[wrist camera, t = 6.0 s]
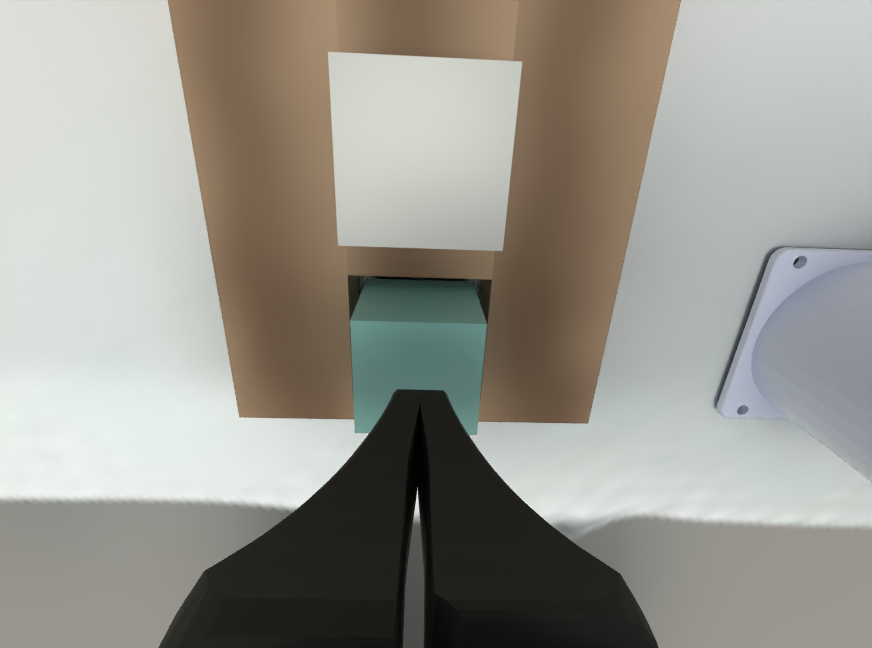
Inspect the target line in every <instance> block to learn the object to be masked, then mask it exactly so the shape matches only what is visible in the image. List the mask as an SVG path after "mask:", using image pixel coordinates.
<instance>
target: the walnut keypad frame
mask: <svg viewBox="0 0 872 648" xmlns="http://www.w3.org/2000/svg"><path fill="white" fill-rule="evenodd" d="M680 2H681V0H168V5H169V11H170V16H171V22H172V28H173V34H174V40H175V45H176V51H177V57H178V63H179V69H180V74H181V80H182V86H183V92H184V98H185V104H186V109H187V115H188V121H189V127H190V133H191V138H192V144H193V150H194V156H195V162H196V167H197V173H198V179H199V185H200V191H201V197H202V202H203V208H204V214H205V220H206V226H207V231H208V237H209V243H210V249H211V255H212V260H213V266H214V272H215V278H216V284H217V290H218V295H219V301H220V307H221V313H222V319H223V324H224V330H225V336H226V342H227V348H228V353H229V359H230V365H231V371H232V377H233V383H234V388H235V394H236V400H237V406H238V412H239V417H249V418H306V419H354V397H353V374H352V351H351V328H350V320H351V317H352V315H353V312H354V310H355V307H356V305H357V302H358V300H359V277H358V275H359V276H391V277H424V278H457V279H481V290H480V305H481V308H482V311H483V314H484V317H485V320H486V323H487V330H486V340H485V351H484V361H483V372H482V382H481V393H480V403H479V414H478V422H533V423H588V421H589V417H590V412H591V407H592V403H593V398H594V394H595V389H596V385H597V380H598V376H599V371H600V367H601V362H602V357H603V353H604V348H605V344H606V339H607V335H608V330H609V326H610V321H611V316H612V312H613V307H614V303H615V298H616V294H617V289H618V285H619V280H620V275H621V271H622V266H623V262H624V257H625V253H626V248H627V244H628V239H629V235H630V230H631V225H632V221H633V216H634V212H635V207H636V203H637V198H638V194H639V189H640V184H641V180H642V175H643V171H644V166H645V162H646V157H647V153H648V148H649V144H650V139H651V134H652V130H653V125H654V121H655V116H656V112H657V107H658V103H659V98H660V93H661V89H662V84H663V80H664V75H665V71H666V66H667V62H668V57H669V53H670V48H671V43H672V39H673V34H674V30H675V25H676V21H677V16H678V12H679V7H680ZM328 52H342V53H362V54H381V55H401V56H421V57H441V58H461V59H480V60H500V61H520V62H522V69H521V79H520V88H519V98H518V108H517V117H516V127H515V137H514V146H513V156H512V166H511V175H510V185H509V195H508V204H507V214H506V224H505V233H504V243H503V251H487V250H457V249H427V248H397V247H367V246H338V236H337V217H336V197H335V178H334V159H333V139H332V120H331V101H330V81H329V62H328Z"/></svg>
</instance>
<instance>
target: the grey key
mask: <svg viewBox="0 0 872 648" xmlns="http://www.w3.org/2000/svg"><path fill="white" fill-rule="evenodd" d="M328 62H329V81H330V101H331V120H332V139H333V159H334V178H335V197H336V217H337V236H338V246H367V247H397V248H427V249H457V250H487V251H503V243H504V233H505V224H506V214H507V204H508V195H509V185H510V175H511V166H512V156H513V146H514V137H515V127H516V117H517V108H518V98H519V88H520V79H521V69H522V62H520V61H500V60H480V59H461V58H441V57H421V56H401V55H381V54H362V53H342V52H328Z"/></svg>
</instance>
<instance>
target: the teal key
mask: <svg viewBox="0 0 872 648" xmlns="http://www.w3.org/2000/svg"><path fill="white" fill-rule="evenodd" d="M350 328H351V351H352V374H353V397H354V421H355V433H370V432H371V430H372V429H373V427H374V426H375V424H376V423H377V421H378V420H379V418H380V417H381V415H382V414H383V412H384V410H385V409H386V407H387V405H388V403H389V401H390V399H391V397H392V395H393V393H394V392H395V391H396V390H397V389H412V390H444V391H445V392H446V394H447V395H448V398H449V401H450V403H451V405H452V407H453V409H454V411H455V413H456V415H457V417H458V419H459V420H460V422H461V424H462V425H463V427H464V429H465V430H466V432H467V433H468V435H477V424H478V414H479V403H480V393H481V382H482V372H483V361H484V351H485V340H486V330H487V323H486V320H485V317H484V314H483V311H482V308H481V305H480V301H479V298H478V295H477V292H476V289H475V286H474V283H473V282H463V281H430V280H397V279H367V280H366V282H365V285H364V287H363V290H362V292H361V295H360V297H359V300H358V302H357V305H356V307H355V310H354V312H353V315H352V317H351V320H350Z"/></svg>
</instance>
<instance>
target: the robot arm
mask: <svg viewBox="0 0 872 648" xmlns="http://www.w3.org/2000/svg"><path fill="white" fill-rule="evenodd" d="M798 257H799V260H798V262H797V263H796V264H795V265H793V263H794V261H795V259H796V258H798ZM740 406H742V407H741V408H740V409H738V408H739V407H740ZM737 409H738V410H737ZM717 411H718V413H720V414H721V415H722V416H723V417H724V418H740V419H791V420H792V421H794V422H795V423H796V424H798V425H799V426H800V427H801V428H803V429H804V430H805V431H807V432H808V433H809V434H810V435H812V436H813V437H814V438H816V439H817V440H818V441H819V442H821V443H822V444H823V445H825V446H826V447H827V448H829V449H830V450H831V451H832V452H834V453H835V454H836V455H838V456H839V457H840V458H841V459H843V460H844V461H845V462H847V463H848V464H849V465H850V466H852V467H853V468H854V469H856V470H857V471H858V472H859V473H861V474H862V475H863V476H865V477H866V478H867V479H868V480H870V481H871V482H872V250H849V249H820V248H791V247H785V248H780V249H778V250H776V251H775V252H774V253H773V254H772V255H771V257H770V259H769V261H768V264H767V267H766V270H765V272H764V275H763V278H762V281H761V284H760V286H759V289H758V292H757V295H756V298H755V300H754V303H753V306H752V309H751V312H750V314H749V317H748V320H747V323H746V325H745V328H744V331H743V334H742V337H741V339H740V342H739V345H738V348H737V351H736V353H735V356H734V359H733V362H732V365H731V367H730V370H729V373H728V376H727V379H726V381H725V384H724V387H723V390H722V393H721V395H720V398H719V401H718V404H717ZM417 487H418V498H419V511H420V524H421V537H422V550H423V564H424V648H658V645H657V642H656V640H655V637H654V635H653V633H652V631H651V629H650V626H649V624H648V622H647V620H646V618H645V616H644V614H643V612H642V610H641V608H640V607H639V605H638V603H637V602H636V599H635V598H634V596H633V594H632V593H631V591H630V589H629V588H628V586H627V585H626V583H625V581H624V579H623V578H622V576H621V575H620V573H618V572H617V571H615V570H614V569H612V568H611V567H609V566H607V565H606V564H605V563H603V562H602V561H600V560H599V559H597V558H595V557H594V556H592V555H591V554H589V553H588V552H586V551H585V550H583V549H582V548H580V547H579V546H577V545H576V544H575V543H573V542H572V541H571V540H569V539H568V538H567V537H565V536H564V535H563V534H561V533H560V532H559V531H558V530H556V529H555V528H554V527H552V526H551V525H550V524H549V523H547V522H546V521H545V520H544V519H543V518H542V517H540V516H539V515H538V514H537V513H536V512H535V511H534V510H533V509H532V508H530V507H529V506H528V505H527V504H526V503H525V502H524V501H523V500H522V499H521V498H520V497H519V496H518V495H517V494H516V493H515V492H514V491H513V490H512V489H511V488H510V487H509V486H508V485H507V484H506V483H505V482H504V481H503V480H502V478H501V477H500V476H499V475H498V474H497V473H496V472H495V470H494V469H493V468H492V467H491V465H490V464H489V463H488V462H487V460H486V459H485V458H484V456H483V455H482V454H481V452H480V451H479V450H478V448H477V447H476V445H475V444H474V443H473V441H472V440H471V438H470V436H469V435H468V433H467V432H466V430H465V429H464V427H463V425H462V424H461V422H460V420H459V419H458V417H457V415H456V413H455V411H454V409H453V407H452V405H451V403H450V401H449V398H448V395H447V394H446V392H445V391H444V390H412V389H397V390H396V391H395V392H394V393H393V395H392V397H391V399H390V401H389V403H388V405H387V407H386V409H385V410H384V412H383V414H382V415H381V417H380V418H379V420H378V421H377V423H376V424H375V426H374V427H373V429H372V430H371V432H370V433H369V435H368V436H367V437H366V439H365V440H364V441H363V442H362V444H361V445H360V446H359V447H358V449H357V450H356V451H355V452H354V454H353V455H352V456H351V457H350V458H349V460H348V461H347V462H346V463H345V464H344V465H343V466H342V467H341V468H340V470H339V471H338V472H337V473H336V474H335V475H334V476H333V477H332V478H331V479H330V480H329V481H328V482H327V483H326V484H325V485H324V486H323V487H321V488H320V489H319V490H318V491H317V492H316V493H315V494H314V495H313V496H312V497H311V498H309V499H308V500H307V501H306V502H305V503H304V504H302V505H301V506H300V507H299V508H298V509H297V510H295V511H294V512H293V513H291V514H290V515H289V516H287V517H286V518H285V519H283V520H282V521H281V522H280V523H278V524H277V525H275V526H274V527H273V528H272V529H270V530H269V531H268V532H266V533H265V534H263V535H262V536H260V537H259V538H257V539H256V540H254V541H253V542H251V543H250V544H248V545H246V546H245V547H243V548H242V549H240V550H238V551H237V552H235V553H233V554H232V555H230V556H229V557H227V558H225V559H224V560H222V561H221V562H219V563H217V564H216V565H214V566H212V567H210V568H209V569H207V570H205V571H204V572H203V574H202V575H201V577H200V578H199V580H198V582H197V583H196V585H195V586H194V588H193V589H192V591H191V592H190V594H189V595H188V597H187V598H186V599H185V601H184V603H183V604H182V606H181V607H180V609H179V611H178V612H177V614H176V616H175V617H174V619H173V621H172V623H171V625H170V627H169V629H168V631H167V633H166V635H165V636H164V638H163V640H162V642H161V644H160V646H159V648H403V629H404V604H405V584H406V573H407V563H408V556H409V548H410V540H411V533H412V525H413V518H414V510H415V502H416V495H417Z"/></svg>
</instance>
